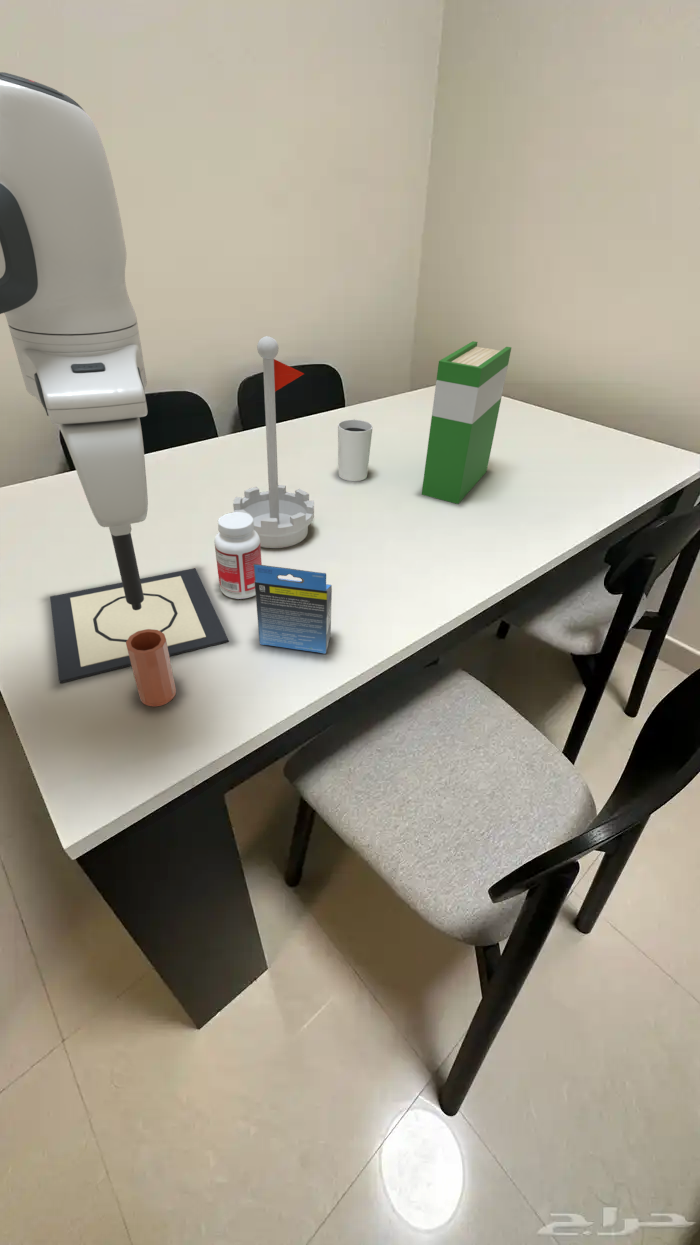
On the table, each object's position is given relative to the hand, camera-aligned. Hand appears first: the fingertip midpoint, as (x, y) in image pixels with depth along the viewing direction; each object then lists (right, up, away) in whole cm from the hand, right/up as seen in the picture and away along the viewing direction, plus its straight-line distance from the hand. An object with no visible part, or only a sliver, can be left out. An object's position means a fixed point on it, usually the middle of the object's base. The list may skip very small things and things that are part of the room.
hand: (118, 523), depth 53 cm
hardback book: (+42, +19, +63) cm, 78 cm away
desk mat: (-7, -9, +24) cm, 27 cm away
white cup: (+22, +20, +63) cm, 70 cm away
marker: (0, -8, +6) cm, 10 cm away
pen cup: (-1, -17, +14) cm, 22 cm away
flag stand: (+9, +6, +44) cm, 46 cm away
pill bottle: (+5, -4, +31) cm, 32 cm away
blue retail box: (+14, -12, +22) cm, 29 cm away
